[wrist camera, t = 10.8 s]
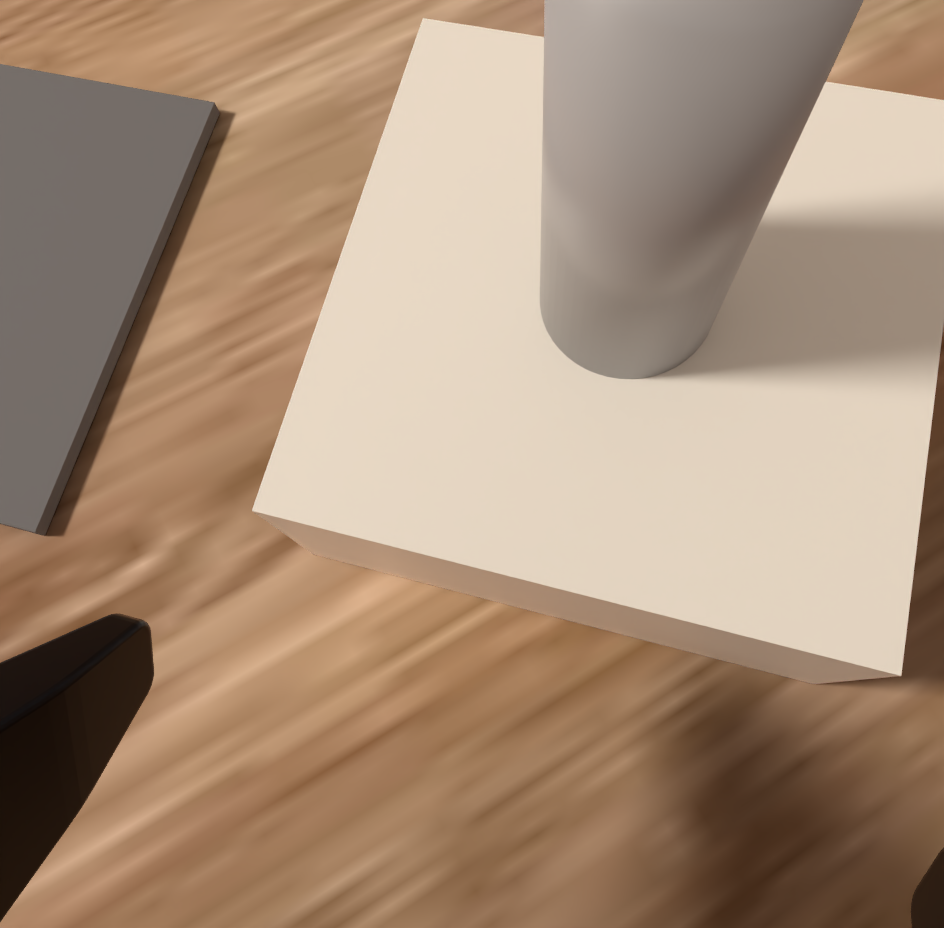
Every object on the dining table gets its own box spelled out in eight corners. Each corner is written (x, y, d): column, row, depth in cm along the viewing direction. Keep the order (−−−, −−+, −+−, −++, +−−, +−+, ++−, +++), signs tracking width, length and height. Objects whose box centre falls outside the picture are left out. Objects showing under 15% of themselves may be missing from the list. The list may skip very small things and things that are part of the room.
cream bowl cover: (813, 683, 17) (1415, 628, 5) (313, 554, 18) (-53, 295, 7) (881, 227, 20) (1365, -444, 8) (443, 148, 21) (339, -510, 10)
